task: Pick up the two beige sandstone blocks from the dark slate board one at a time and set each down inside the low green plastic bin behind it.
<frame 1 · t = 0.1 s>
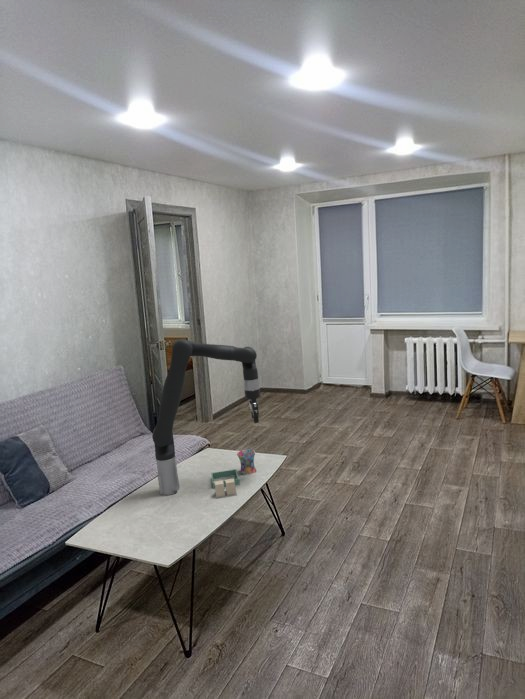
hand: (255, 420, 247), 29 cm above the table, fingers open, 8 cm apart
slate board: (226, 496, 233), on the table
stone right: (231, 493, 234), point 1 cm above the table, touching slate board
floral patterned vase: (249, 472, 259), on the table
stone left: (220, 494, 233), point 1 cm above the table, touching slate board
green bin: (225, 483, 248), on the table
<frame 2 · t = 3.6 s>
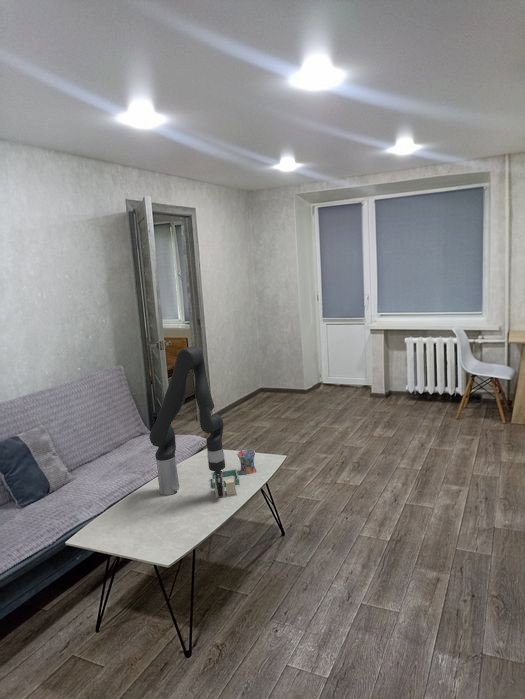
hand: (220, 493, 233), 2 cm above the table, fingers closed on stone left, 4 cm apart
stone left: (220, 494, 233), point 1 cm above the table, touching gripper, slate board
everything else where it was.
when the fingers open (4 cm above the table, at t = 8.1 s): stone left drops 3 cm, resting on green bin.
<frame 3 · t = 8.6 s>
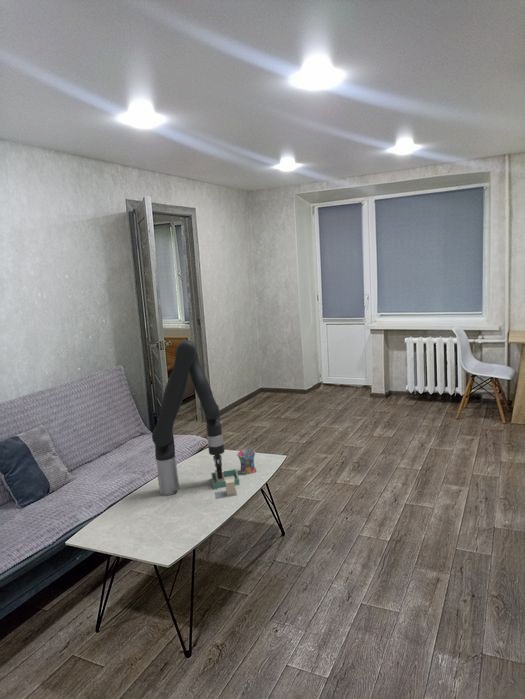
hand: (219, 475, 247), 5 cm above the table, fingers open, 8 cm apart
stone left: (220, 482, 248), point 1 cm above the table, touching green bin
everything else where it was.
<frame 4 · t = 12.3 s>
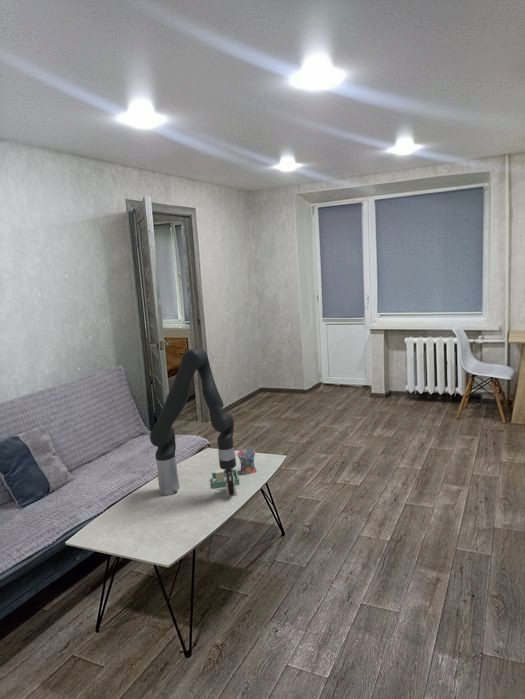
hand: (231, 492, 233), 2 cm above the table, fingers closed on stone right, 4 cm apart
stone right: (231, 493, 234), point 1 cm above the table, touching gripper, slate board
everything else where it was.
when the fingers open (4 cm above the table, at t = 16.9 s): stone right drops 3 cm, resting on green bin.
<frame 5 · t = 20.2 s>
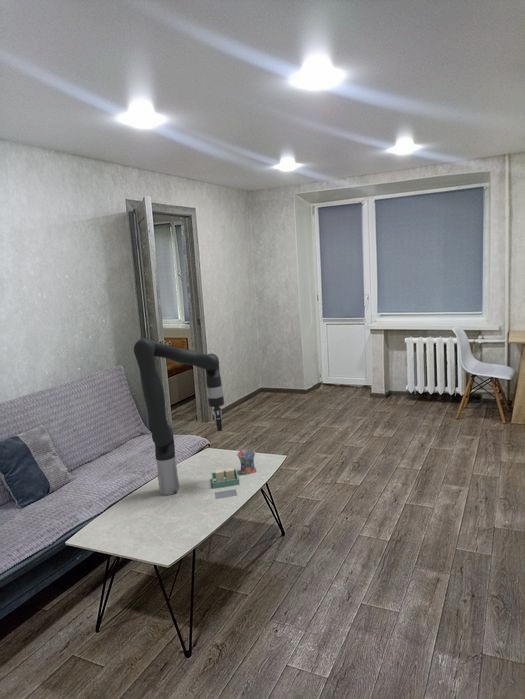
hand: (219, 428, 243), 28 cm above the table, fingers open, 8 cm apart
stone right: (230, 481, 248), point 1 cm above the table, touching green bin
everything else where it was.
at the end: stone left inside the target area on the green bin (2.4 cm from its centre), point 0.6 cm above the green bin's base; stone right inside the target area on the green bin (2.6 cm from its centre), point 0.6 cm above the green bin's base; the gripper is holding nothing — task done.
